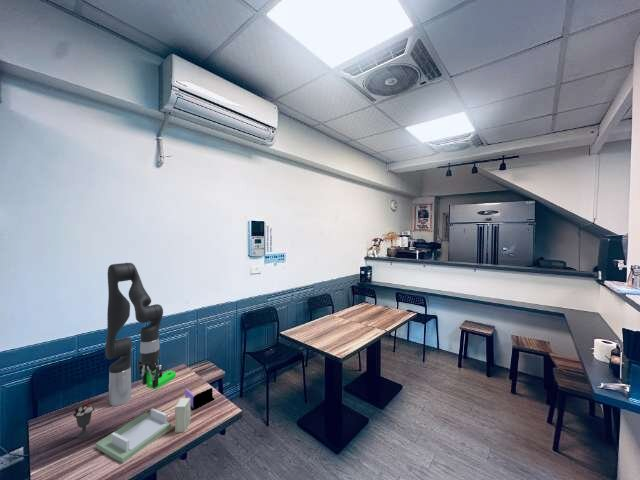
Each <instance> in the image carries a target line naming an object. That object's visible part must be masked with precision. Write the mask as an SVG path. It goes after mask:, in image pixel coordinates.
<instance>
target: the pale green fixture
mask: <svg viewBox="0 0 640 480" xmlns="http://www.w3.org/2000/svg"><path fill="white" fill-rule="evenodd" d="M171 428H172V422H169V421H168V413H165V412H162V411H161V410H158V409H156V408H153V407H152V408H151V409H150V413H148V412H143V413H142V414H140V415H139V416H137V417H136V418H134V419H132V420H131V421H129V422H128V423H126V424H124V425H122V426H121V427H120V428H118V429H116V430H114V431H113V432H111V433H110V434H108V435H107V436H105V437H103V438H102V439H100V440H99V441H97V442H95V449H97V450H99V451H100V452H102V453H104V454H105V455H107V456H108V457H111V458H112V459H114V460H116V461H118V462H120V463H121V464H124V463H125V462H126V461H128V460H129V459H131V458H132V457H133V456H135V455H136V454H137V453H139V452H140V451H142V450H143V449H144V448H146V447H147V446H148V445H151V444H152V442H153V441H155V440H156V439H158V438H160V437H161V436H162V435H163V434H165V433H166V432H167V431H169V430H170V429H171Z"/></svg>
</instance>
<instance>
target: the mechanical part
mask: <svg viewBox="0 0 640 480" xmlns="http://www.w3.org/2000/svg"><path fill="white" fill-rule="evenodd" d="M155 371H156V370H155ZM155 371H153V372H155ZM153 372H152V373H153ZM154 376H155V374H154ZM176 376H177V375H176V371H174V370H168V371H165V372H164V373H162V377H161V378H159V379H158V386H157V387H155V388H152V380H153V379H152V376H150V374H149V372H147V375H146V378H147V384H146V388H149V389H152V390H157V389H159V388H161V387H163V386H164V385H166V384H168V383H170V382H171V381H173V380H175V379H176Z"/></svg>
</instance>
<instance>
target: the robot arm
mask: <svg viewBox="0 0 640 480" xmlns="http://www.w3.org/2000/svg"><path fill="white" fill-rule="evenodd" d="M137 269H138V268H137V267H136V265H135V264H134V263H132V262H124V263H123V262H122V263H113V264H110V265H109V266H108V268H107V289H108V290H107V291H108V297H107V298H108V300H107V312H106V313H107V317H106V318H107V321H106V322H107V324H106V325H107V328H106V329H107V330H106V340H105V350H104V353H105V358H106V359H107V360H114V359H117V358H119V359H117V360H116V361H114V362H113V363H111V364H110V366H109V367H108V369H109V370H108V371H109V372H108V373H109V375H108V378H109V379H108V380H109V381H108V383H109V384H108V401H109V406H112V407H115V406H122V405H123V404H126V403H127V402H128V401H130V400H131V398H132V349H133V343H132V339H131V337H129V336H125V337H120V338H118V339H117V336H118V334H119V332H120V330H121V329H122V328H123V327H124V326H125V324H126V323H127V322H128V320H129V318H130V316H131V312H130V311H131V304H130V302H131V303H132V305H133V307H134V312H135V313H134V314H135V315H134V316H135V320H136V321H137V322H138V323H139V324H145V323H148V322H149V324H147V325H146V326H144V327H142V328H141V329H140V342H139V361H137V370H138V375H140V376H141V377H142V381H141V382H142V385H143V386H146V385H147V378H146V375H147V372H149V374H150V376H152V379H153V380H152V388H155V387H157V386H158V379H159V378H161V377H162V374H163V370H164V369H163V368H164V365H163V364H159V362H158V360H159V358H161V357H160V356H161V354H160V353H161V352H160V348H161V347H160V326H161V322H162V319H163V316H164V309H163V307H162V305H161V304H158V303H156V304H152V305H151V303H152V299H151V297H150V295H149V294H148V293H147V291H146V289H145V287H144V284H143V282H142V279H141V277H140V274H139V272H138V270H137ZM128 281H131V285H130V288H129V289H128V297H129V300H128V298H126V297H125V295H123V293H122V292H121V290H120V288H119V283H120V282H128ZM155 370H156V371H155ZM153 371H155V372H153ZM152 372H153V373H152ZM154 374H155V376H154ZM152 388H151V389H152Z"/></svg>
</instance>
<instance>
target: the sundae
mask: <svg viewBox="0 0 640 480" xmlns="http://www.w3.org/2000/svg"><path fill="white" fill-rule="evenodd" d="M90 401H91V398H88V400H87V401H86V402H84V403H83V404H82V405H80V407H79V408H74V413H73V415H72V416H73V417H75V419H76V424H77V426H78V428H82V429H81V430H82V431H81V432H80V433H78V434H77V435H76V439H79V440H81V439H84V438H87V437H88V436H90V435H91V434H92V432H93V430H91V429H87V426H88V425H89V424H90V423H91V419H92V414H93V412H94V411H95V407H94V406H91V404H90V403H89V402H90Z"/></svg>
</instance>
